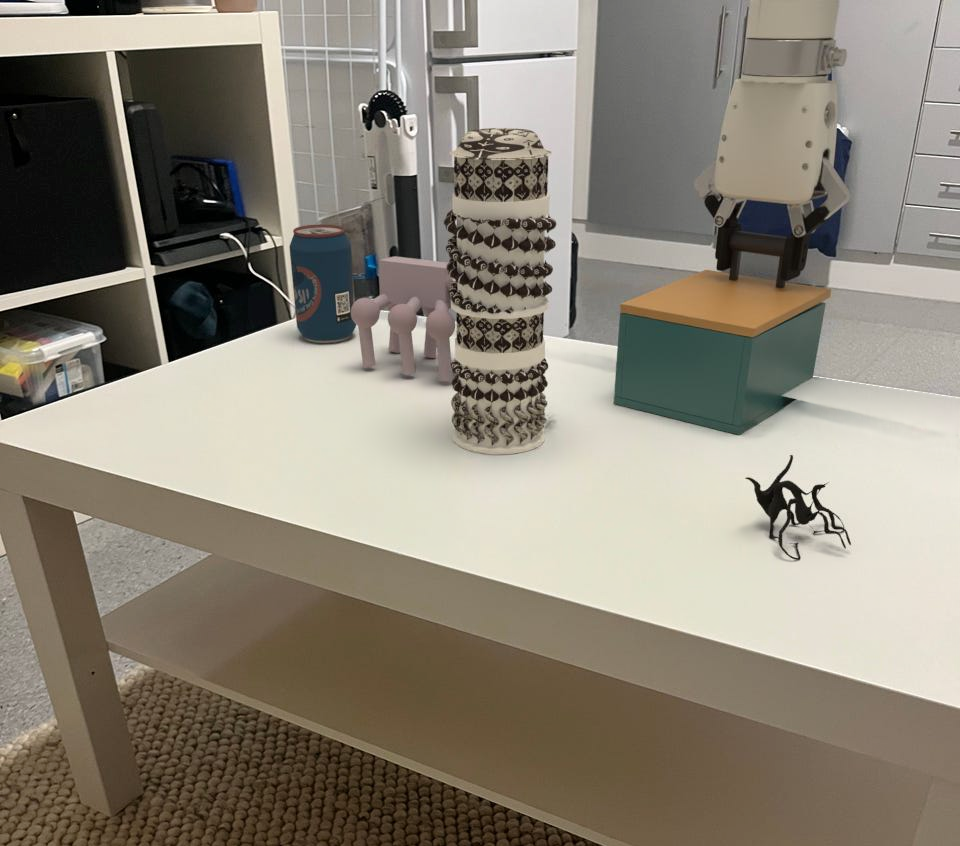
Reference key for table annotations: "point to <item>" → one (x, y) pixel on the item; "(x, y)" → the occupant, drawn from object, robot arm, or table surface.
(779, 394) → the teal open box
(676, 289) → the lid
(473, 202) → the decorative candle
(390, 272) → the pink pegged block
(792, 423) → the table surface
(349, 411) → the table surface
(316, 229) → the soda can
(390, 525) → the table surface
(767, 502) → the creature
